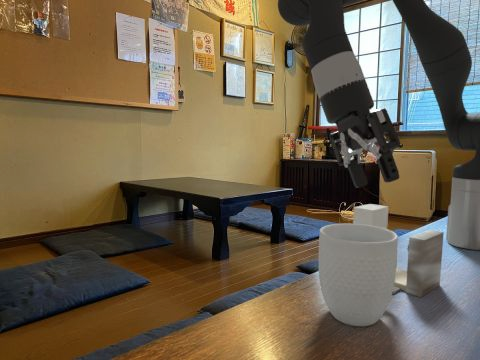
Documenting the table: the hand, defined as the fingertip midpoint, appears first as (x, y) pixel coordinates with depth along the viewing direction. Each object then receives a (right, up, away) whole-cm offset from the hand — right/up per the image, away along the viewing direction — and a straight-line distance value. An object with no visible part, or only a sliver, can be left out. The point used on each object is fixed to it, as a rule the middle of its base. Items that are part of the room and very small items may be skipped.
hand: (376, 183), depth 54 cm
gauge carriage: (+3, -17, +14) cm, 22 cm away
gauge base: (+7, -19, +11) cm, 23 cm away
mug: (-3, -20, -2) cm, 20 cm away
